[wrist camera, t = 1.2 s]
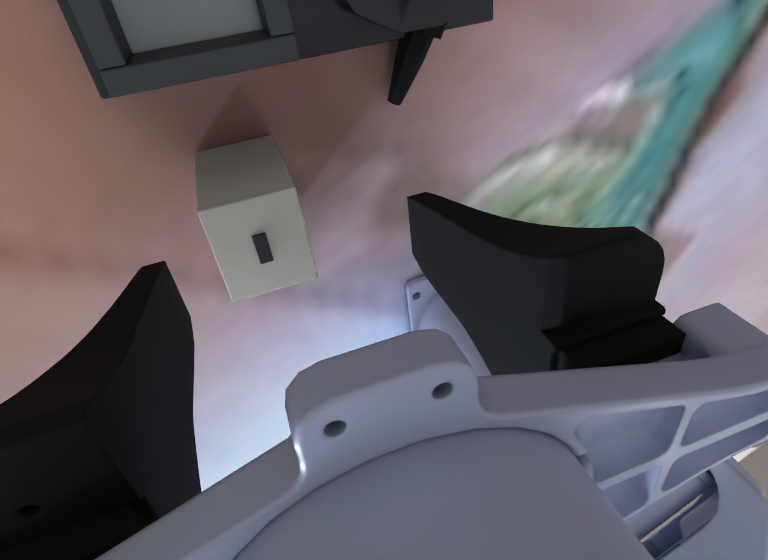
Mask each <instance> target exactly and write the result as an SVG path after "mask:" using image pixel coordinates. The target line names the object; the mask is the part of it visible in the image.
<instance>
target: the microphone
mask: <svg viewBox="0 0 768 560" xmlns="http://www.w3.org/2000/svg"><path fill="white" fill-rule="evenodd" d="M453 17H454V16H453ZM453 17H452V18H453ZM446 24H447V22H446V23H444V25H441V26H436V27H431V28H426V29H421V30H416V31H411V32H406V33H405V35H404V38H403V39H400V40H399V44H398V48H397V51H396V57H395V62H394V67H393V73H392V78H391V84H390V89H389V94H388V101H389V102H390V103H392V104H395V105H401V103H402V101H403V99H404V97H405V95H406V93H407V92H408V90H409V88H410V86H411V84H412V82H413V80H414V78H415V76H416V75H417V73H418V71H419V69H420V67H421V65H422V63H423V61H424V59H425V57H426V54H427V52H428V50H429V47H430V45H431V42H432V40H433V38H438V39H441V37H442V34H443V32H444V29H445V26H446Z"/></svg>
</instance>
